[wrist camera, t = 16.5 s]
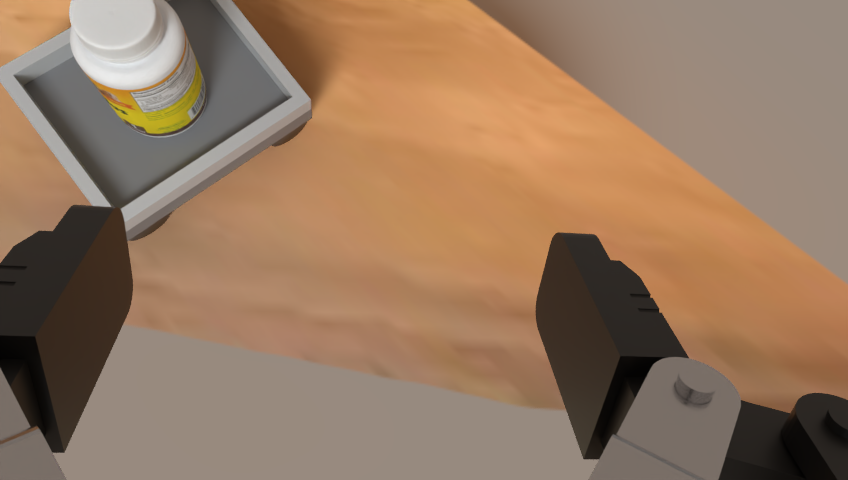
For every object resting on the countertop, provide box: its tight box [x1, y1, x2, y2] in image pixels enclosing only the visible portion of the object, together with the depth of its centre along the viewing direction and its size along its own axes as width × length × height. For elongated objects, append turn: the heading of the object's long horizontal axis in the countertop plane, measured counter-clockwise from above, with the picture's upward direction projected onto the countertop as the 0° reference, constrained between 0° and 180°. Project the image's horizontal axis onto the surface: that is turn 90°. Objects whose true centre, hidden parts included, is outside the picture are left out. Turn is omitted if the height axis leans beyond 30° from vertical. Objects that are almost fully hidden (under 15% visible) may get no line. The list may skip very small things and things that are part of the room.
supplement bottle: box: [69, 0, 207, 138], centre depth 37 cm, size 6×6×10 cm
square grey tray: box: [0, 0, 312, 241], centre depth 43 cm, size 14×12×6 cm
